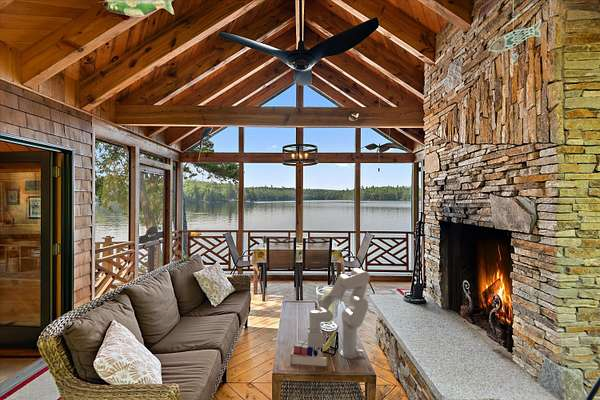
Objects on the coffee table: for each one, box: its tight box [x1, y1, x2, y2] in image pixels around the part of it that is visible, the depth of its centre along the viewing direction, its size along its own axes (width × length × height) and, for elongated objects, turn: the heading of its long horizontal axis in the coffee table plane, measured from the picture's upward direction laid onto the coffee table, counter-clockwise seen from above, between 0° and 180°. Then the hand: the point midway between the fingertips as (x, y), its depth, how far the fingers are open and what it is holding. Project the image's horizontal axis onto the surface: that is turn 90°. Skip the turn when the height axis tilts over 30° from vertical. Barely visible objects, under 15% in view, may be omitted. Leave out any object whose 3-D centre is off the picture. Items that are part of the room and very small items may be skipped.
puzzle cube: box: [293, 339, 314, 357], centre depth 230 cm, size 10×10×10 cm
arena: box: [289, 346, 328, 367], centre depth 229 cm, size 24×15×6 cm, turn 82°
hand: (315, 356), depth 228 cm, fingers closed
